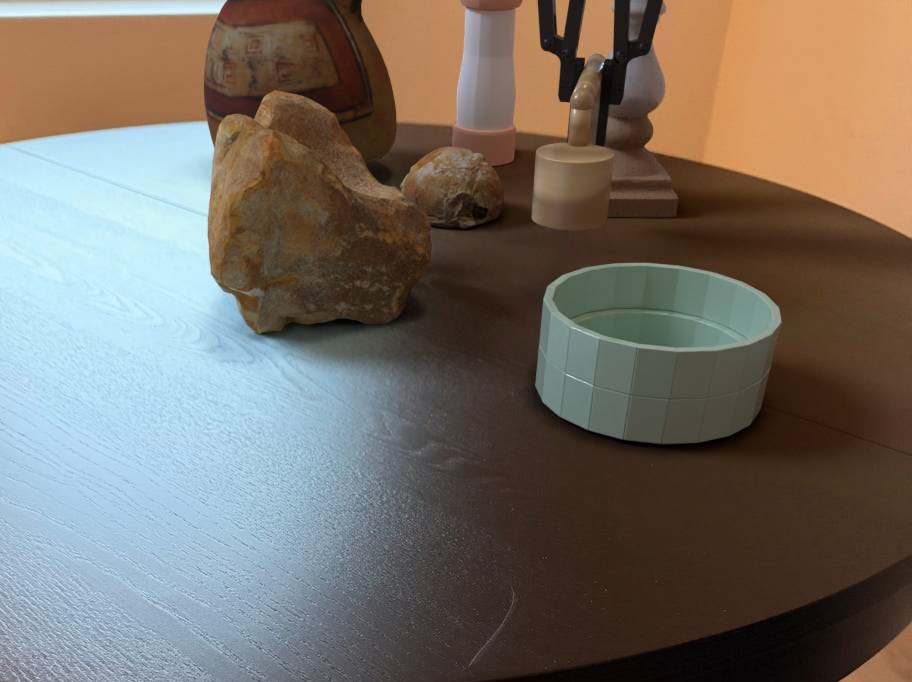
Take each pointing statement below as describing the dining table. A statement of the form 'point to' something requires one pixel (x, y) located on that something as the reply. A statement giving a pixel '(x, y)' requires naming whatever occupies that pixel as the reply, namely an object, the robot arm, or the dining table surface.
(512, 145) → the pepper shaker
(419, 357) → the dining table surface
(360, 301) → the rough brown rock
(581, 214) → the hooked weight
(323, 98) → the reddish ceramic vase
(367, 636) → the dining table surface
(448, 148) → the bread roll
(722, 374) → the mixing bowl
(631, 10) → the candle holder
